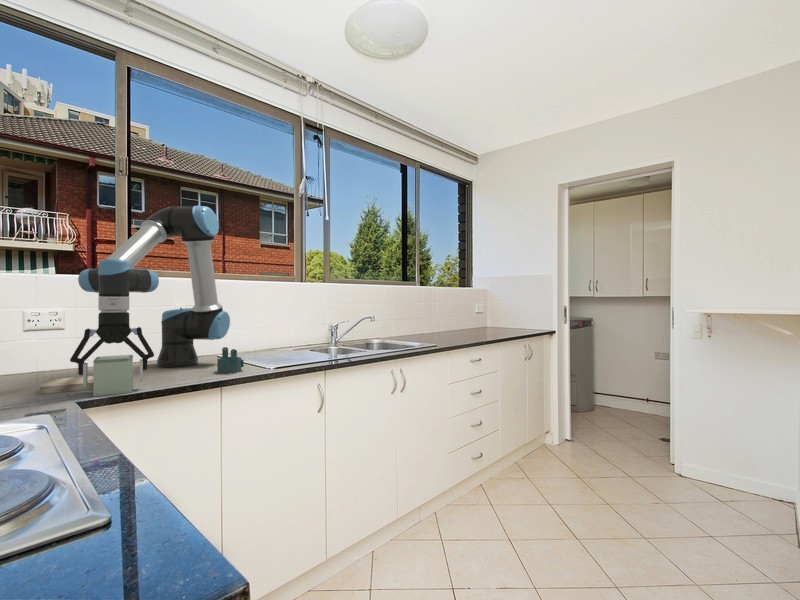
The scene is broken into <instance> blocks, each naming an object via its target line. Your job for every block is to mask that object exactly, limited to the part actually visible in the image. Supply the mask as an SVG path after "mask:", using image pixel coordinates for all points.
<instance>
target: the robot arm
mask: <svg viewBox="0 0 800 600" xmlns="http://www.w3.org/2000/svg"><path fill="white" fill-rule="evenodd" d="M219 230H220V223H219V220H218V217H217V215H216V213H215V212H214V211H213V209H212V208H210V207H208V206H207V205H206V206H204V205H190V206H189V205H188V206H187V205H186V206H185V205H183V206H168V207H166V208H165V207H164V208H162V209H160V210H158V211H157V212H155V213H153V214H151V215H150V216H148V217H147V218H145V220H143V222H142V223H141V224H140V228H139V229H138V230H137V231H136V232H135V233H134V234H133V235H132V236H130V237H128V238H129V239H127V240H126V241H125V242H124V243H122V244H121V245H120V246H119V247H118V248H116V250H115V251H113V253H111V254H110V255H109V256H108V257H107V258H102V259H100V260H99V262H98V266H96V267H95V268H88V269H84V270H81V272H79V275H78V278H77V283H78V286H80V288H81V289H82V291H85V292H86V293H97V294H98V302H97V303H98V308H97V309H98V311H99V313H98V316H97V317H98V318H97V319H98V320H97V324H98V327H97V329H93V328H89V327H88V328H86V329H84V333H83V337H82V338H81V341H80V343H79V344H78V345H77V348H76V349H75V351H74V353H73V354H72V356H71V357H70V359H69V361H70V362H71V363H76V364H77V367H78V368H77V371H78V376H82V377H83V387H87V385H88V376H89V375H88V374H89V373H88V370H89V369H88V366H89V365H88V364H89V363H88V362H86V360H87V359H89V358H90V357H91V355H92V354H93V353H94V352H96V351H97V349H98V348H100V347H101V345H102V344H103V343H105V344H121V343H123V342H124V343H125V344H126V345H127V346H128V347H129V348H130V349H131V350H132V351H134V352H135V353H136V354H137V355H138V356H139V357H140V358H141V359H139V383H144V371H147V370H148V360H149V359H151V358H153V357H155V353H154V351H153V349H152V348H151V346H150V345H149V343H148V341H147V340H146V338H145V337H144V335H143V332H142V327H141V326H138V327H132V328H131V327H130V313H129V312H128V311H129V310H130V293H141V294H142V293H144V294H145V293H152V292H154V291H155V290H157V288H158V287H159V284H160V283H159V282H160V278H159V276H158V274H157V273H156V272H155V271H154V270H151V269H148V268H147V269H146V268H135V266H137V265H138V264H139V263H140V261H142V259H144V258H145V257H146V256H147V255H148V254H149V253H150V252H151V250H153V249H154V248H155V246H157V245H159V244H161V243H164V242H165V241H167V239H169V238H173V237H174V238H176V237H179V238H180V237H181V242H182V244H184V245H185V246H186V250H187V256H188V257H187V258H188V263H189V271H190V278H191V285H192V292H193V295H192V296H193V302H194V305H193V307H189V308H188V307H187V308H175V309H169V310H165V311H163V312H162V315H161V349H160V352H159V354H158V357H157V360H156V366H157V367H160V368H176V367H177V368H180V367H188V366H194V365H197V364H199V357H198V354H197V352H196V348H195V345H194V340H203V341H204V340H205V341H207V340H209V341H213V340H221V339H223V338H225V336H226V335H227V333H228V332H229V330H230V325H231V318H230V317H231V316H230V315H229V312H227V311H225V310H224V309H223V305H222V304H221V303H219V302H218V293H217V285H216V278H215V276H216V275H215V270H214V260H213V252H212V251H213V250H212V243H213V242H214V241H215V236H217V235H218V233H219ZM131 333H133V335H136V336H137V337H138V338H137V339H139V341H140V342H141V344H142V346H143V348H144V349H145V351H146V352H147V353H145V352H143V350H141V348H140V347H139V346H137V344H135V343H134V342H133V341H132V340H131V339H130V338H129V337H128V336H130V334H131ZM95 334H96V335H97V336H98V338H100V339H98V340H97V341H96V343H95V344H93V346H92V347H91V348H90V349H89V350H87V352H85V354H83V356H82V357H80V358H79V356H80V354H81V352H82V351H83V350H84V348H85V346H86V344H87V343H88V341H89V340H90V337H93V336H94V335H95Z"/></svg>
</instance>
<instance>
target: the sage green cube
mask: <svg viewBox="0 0 800 600" xmlns="http://www.w3.org/2000/svg"><path fill="white" fill-rule="evenodd" d="M93 376H94V389H93V397H100V396H101V397H102V396H110V395H120V394H131V393H132V392H133V389H134V355H133V354H123V355H105V356H103V355H102V356H96V357H95V358H94V360H93Z"/></svg>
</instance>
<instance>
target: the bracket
mask: <svg viewBox="0 0 800 600" xmlns="http://www.w3.org/2000/svg"><path fill="white" fill-rule="evenodd" d="M221 351H222V353H221V357H219V358H217V367H216V368H217V374H219V373H220V374H222V375H229V374H228V373H232V374H238V373H237V372H239V373H241V372H242V368H244V365H245V364H244V362H245V361H244V359H243V358H242V357H241V356H238V350H237V349H234V348H232V349H231V350H230V356H229V347H226V346H223V347H222V348H221ZM240 371H241V372H240Z"/></svg>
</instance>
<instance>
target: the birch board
mask: <svg viewBox="0 0 800 600" xmlns="http://www.w3.org/2000/svg"><path fill="white" fill-rule="evenodd" d="M88 390H94V375H88V385H87V387H83V376H74V377H73V376H71V377H61V378H50V379H48V380H47V381H46V382H44V383H43V384H42V385H41V386H39V394H40V395H44V394H55V393H57V394H58V393H68V392H77V391H78V392H79V391H88Z"/></svg>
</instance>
